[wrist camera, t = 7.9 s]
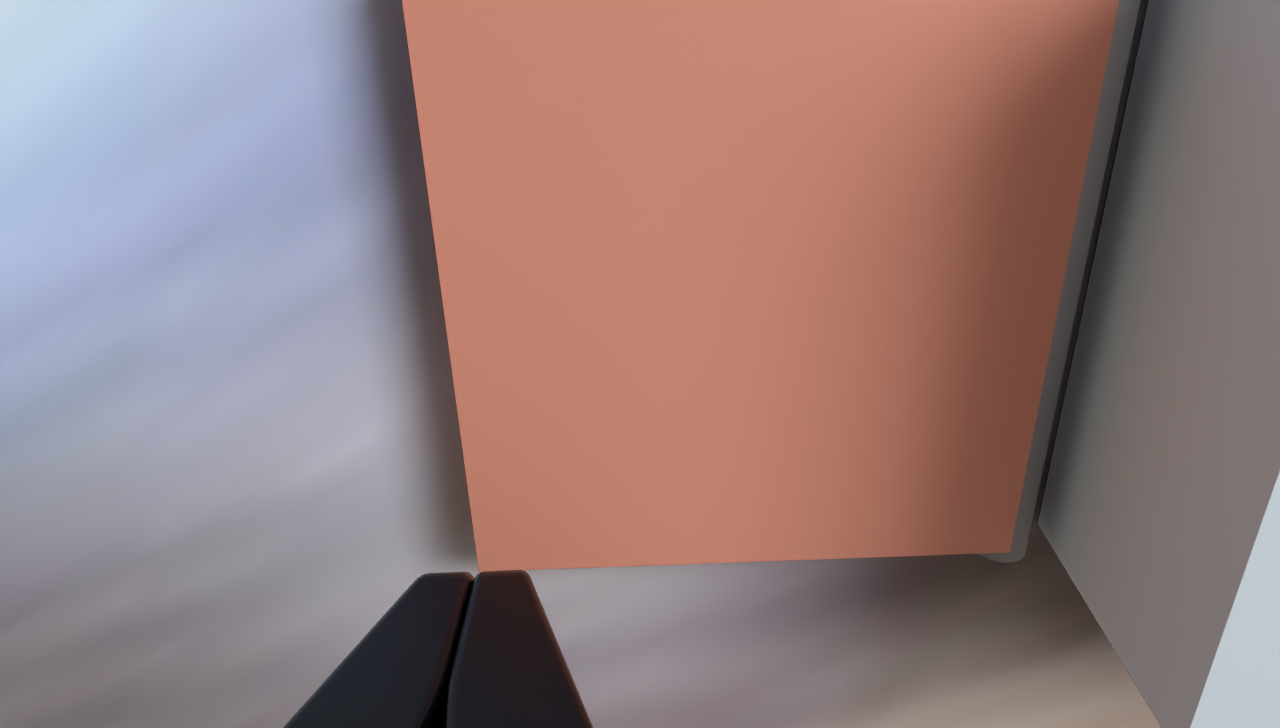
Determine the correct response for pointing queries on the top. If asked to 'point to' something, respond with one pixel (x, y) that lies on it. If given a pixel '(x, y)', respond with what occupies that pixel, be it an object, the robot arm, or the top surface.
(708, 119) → the tailgate
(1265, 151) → the white stepped block
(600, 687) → the top surface
